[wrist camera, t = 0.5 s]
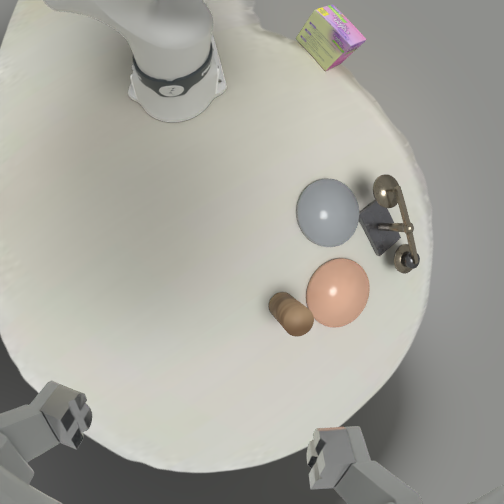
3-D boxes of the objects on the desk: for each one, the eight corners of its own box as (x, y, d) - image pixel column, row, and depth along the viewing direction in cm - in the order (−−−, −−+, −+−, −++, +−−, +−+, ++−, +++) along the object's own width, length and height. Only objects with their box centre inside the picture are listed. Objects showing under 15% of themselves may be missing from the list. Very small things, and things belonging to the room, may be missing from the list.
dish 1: (294, 179, 52) (296, 178, 51) (354, 180, 54) (357, 179, 53) (297, 248, 53) (299, 249, 52) (357, 244, 56) (360, 245, 54)
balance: (342, 190, 54) (378, 183, 42) (365, 174, 55) (403, 165, 42) (386, 276, 58) (424, 287, 46) (406, 258, 59) (445, 265, 46)
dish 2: (305, 261, 54) (307, 262, 53) (366, 255, 56) (370, 256, 55) (306, 330, 55) (308, 332, 54) (364, 319, 58) (367, 321, 57)
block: (268, 293, 53) (283, 308, 43) (293, 290, 54) (313, 304, 44) (269, 318, 54) (284, 338, 44) (294, 315, 55) (313, 333, 45)
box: (341, 63, 51) (367, 39, 40) (325, 72, 51) (350, 46, 39) (312, 31, 49) (332, 3, 38) (294, 38, 49) (313, 8, 37)
